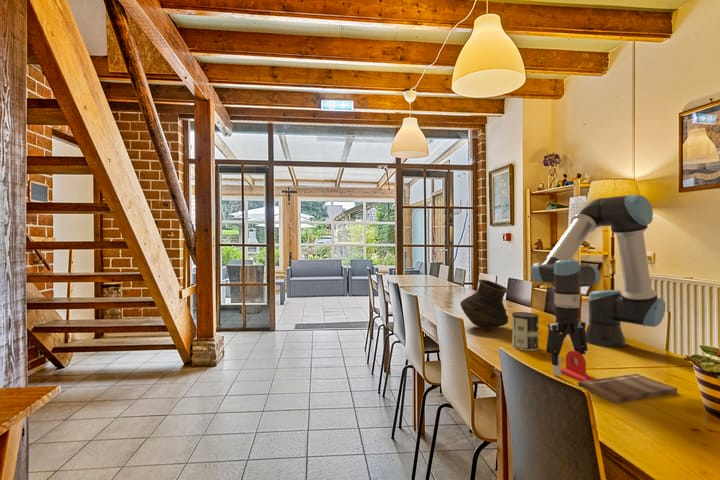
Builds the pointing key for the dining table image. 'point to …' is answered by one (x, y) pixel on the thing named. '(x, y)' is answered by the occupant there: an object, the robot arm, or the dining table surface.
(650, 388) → the walnut board
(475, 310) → the ceramic pot
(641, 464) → the dining table surface
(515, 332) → the coffee can
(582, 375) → the bracket
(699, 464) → the dining table surface
